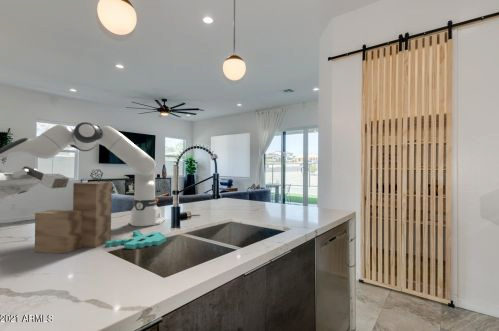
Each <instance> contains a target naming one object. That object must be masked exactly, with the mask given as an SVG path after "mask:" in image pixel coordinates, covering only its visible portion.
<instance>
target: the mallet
mask: <svg viewBox="0 0 499 331" xmlns="http://www.w3.org/2000/svg"><path fill="white" fill-rule="evenodd" d="M22 169H28V171H29V173H27V175H29V176H32V177H34V178H36V179H39V180H41V182H40V183H39V184H40V185H42V186H45V187H48V188H49V189H60V188H61V189H62V188H67V185H68V183H69V180H70V177H68V176H65V175H63V174H61V173H45V172H44V173H43V172H41V171H40V170H38V171H37V170H34V169H35V168H31V167H30V166H27V165H26V166H24V167H22V168H21V170H22Z"/></svg>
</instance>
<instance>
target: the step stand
mask: <svg viewBox="0 0 499 331" xmlns="http://www.w3.org/2000/svg"><path fill="white" fill-rule="evenodd" d="M72 184H73V185H72V186H73V190H72V191H73V192H72V195H73V196H72V197H73V198H72V200H73V201H72V209H49V210H44V211H38V212H34V253H44V254H45V253H46V254H48V253H49V254H68V253H70V252H73V251H75V250H78V249H80V248H92V249H93V248H95V249H96V248H98V247H100V246H102V245H104V244H105V243H106V242H107V241H112V239H111V238H112V189H113V188H112V187H113V186H112V184H113V182H112V181H107V182H105V181H85V182H84V181H83V182H73V183H72Z"/></svg>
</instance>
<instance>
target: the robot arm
mask: <svg viewBox="0 0 499 331" xmlns="http://www.w3.org/2000/svg"><path fill="white" fill-rule="evenodd" d="M96 145H101V146H103V147H105V148H106V149H107V150H108V151H110V152H111V153H113V154H114V155H115V156H116V157H117V158H119V159H120V160H121V161H123V163H125V164H126V165H127V166H128V167H130V168H131V169H132V170H134V197H133V198H134V199H133V204H132V205H133V208H131V212H130V220H129V221H128V224H130V226H132V227H133V226H134V227H149V226H156V225H157V226H158V225H161V224H162V223H163V222H165V221H166V217H163V216H162V209H161V208H160V207H158V206H157V204H158V203H159V199H158V198H156V168H157V164H156V160H155V159H154V158H152V157H151V156H150V155H149V154H148V153H147V152H145V151H144V150H142V148H140V147H139V146H138V145H136V144H134V142H133V141H131V140H130V139H129V138H128V137H127V136H125V135H124V134H123V133H121V132H119V130H117V129H115V128H113V127H112V126H110V125H103V126H101V127H100V126H99V125H95V124H94V123H90V122H87V121H86V122H85V121H84V122H80V123H78V124H77V125H76V126H75V127H74V129H73V128H71V127H69V126H67V125H66V124H64V123H63V124H62V123H59V124H56V125H54V126H52V127H50V128H48V129H46V130H45V131H43V132H42V133H40V135H37V136H36V137H32V138H27V137H22V138H20V139H17V140H15V141H13V142H10V143H9V144H8V143H7V144H6V145H3V146H2V147H0V160H2V159H4V158H6V157H8V156H10V155H12V154H15V153H23V154H26V155H30V156H32V157H34V158H39V159H45V160H49V159H52V158H54V157H55V156H57V155H59V154H60V153H61V152H62V151H63V150H64V149H65V148H67V147H69V146H70V147H71V148H74V149H76V150H78V151H81V152H89V151H92V150H93V149H95V147H96ZM33 169H34V170H37V171H39V169H38V168H33ZM27 173H29V171H28V169H22V168H21V170H17V171H14V172H6V171H5V170H3V169H2V168H0V203H1V202H2V201H5V200H8V199H10V198H11V197H15V196H16V195H20V194H23V193H27V192H29V191H31V189H32V188H34V187H35V186H38V185H39V184H40V183H41V180H39V179H36V178H34V177H32V176H29V175H27Z"/></svg>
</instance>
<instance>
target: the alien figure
mask: <svg viewBox="0 0 499 331" xmlns="http://www.w3.org/2000/svg"><path fill="white" fill-rule="evenodd" d="M132 236H133V237H132V238H124V239H116V240H111V241H107V242H106V243H105V247H109V248H111V247H113V246H117V247H118V246H121V245H124V246H123V247H124V249H127V250H128V249H131V250H135V249H137V248H145V247H152V246H160V245H162V244H163V243H166V242H167V237H166V236H165V235H163V233H161V231H160V232H158V231H150V232H149V233H147V234H143V233H142V232H141V230H134V231H132Z"/></svg>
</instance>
